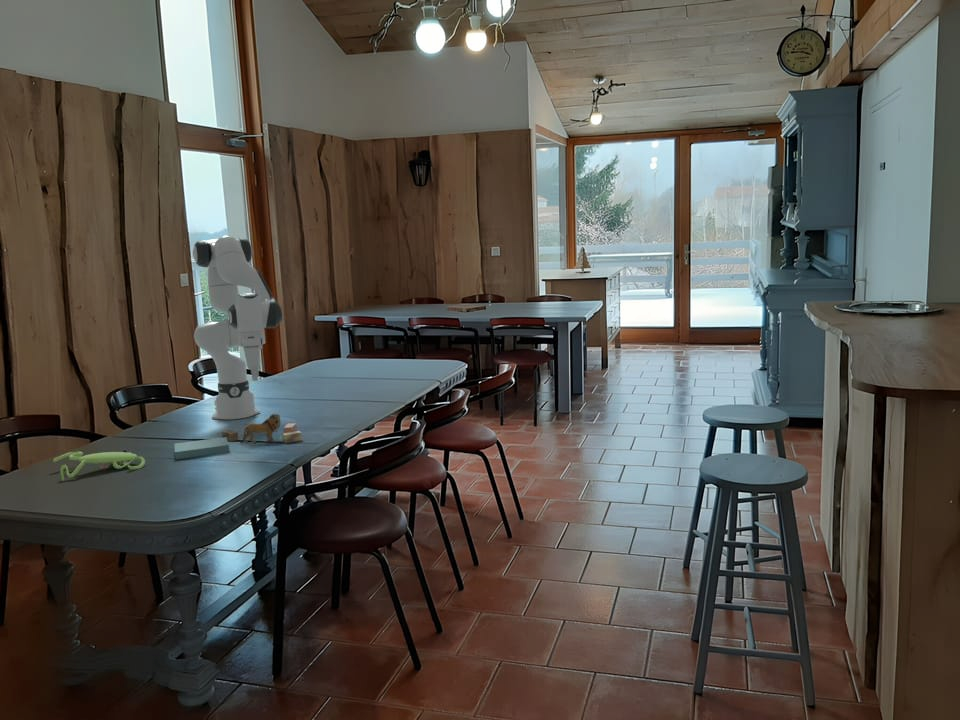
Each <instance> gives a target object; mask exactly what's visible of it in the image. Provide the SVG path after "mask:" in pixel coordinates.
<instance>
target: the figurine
mask: <svg viewBox="0 0 960 720" xmlns="http://www.w3.org/2000/svg"><path fill="white" fill-rule="evenodd" d="M132 452H133V451H131V450H122V451H108V452H97V453H90V454H85V455H84V453H83V452H82V451H69V452H66V453H64V454H62V455H59V456H57V457H54V458H53V463H57V462H58V461H60V460H62V459H66V458H67V457H68V459H69V461H70V460H71V461H79V462H80V463H79V465H77V467H76V468H75V469H74V471H73V472H72V473H69V468H68V466H67V465H66V464H63V465H61V466H60V476H61V481H62V482H63V481H65V477H64V470H65V472H66V474H65V475H66V476H67V477H68V478H74V477H75V476H76V475H78V473H79V472H80V470H81V469H82V468H83V467H84V466H85V465H86V464H100V465H101V464H102V465H101V466H100V467H99V469H102V468H104V467H106V466H107V465H109V464H112V466H113V468H114V469H117V470H119V469H123V468H124V467H127V468H128V469H130V470H132V471H135V470H140V469H142V468H143V467H144V466H145V465H146V460H145V457H143V456H138V455H137V454H135V453H132ZM135 460H139V461H140V464H139V465H137V466H136V465H135V466H134V465H133V466H132V465H131V464H130V463H131V462H133V461H135ZM128 461H129V462H128ZM121 464H122V465H121Z"/></svg>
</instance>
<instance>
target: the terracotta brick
mask: <svg viewBox="0 0 960 720" xmlns="http://www.w3.org/2000/svg"><path fill="white" fill-rule="evenodd" d="M295 431H298V430H297V423H296V422H295V423H287V424H286V425H284V427H283V433H289V432H295Z"/></svg>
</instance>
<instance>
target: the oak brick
mask: <svg viewBox="0 0 960 720" xmlns="http://www.w3.org/2000/svg"><path fill="white" fill-rule="evenodd" d="M281 436H282V442H283V443H284V444H287V443H293V442H300V441H303V434H302V432H301V431H300V430H297V431H295V432H289V433H284V432H283V433H282V434H281Z"/></svg>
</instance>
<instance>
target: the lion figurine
mask: <svg viewBox="0 0 960 720" xmlns="http://www.w3.org/2000/svg"><path fill="white" fill-rule="evenodd" d="M281 422H282V421H281V418H280V414H277V413H272V414H270V415H269V417H268V418H267V419H266V420H264V421H263V422H262V423H248V424H247V425H246V426H245V427H244V430H243V434H242V435H243V436H242V440H241V441H240V442H239V444H242V443H248V442H249V440H250V441H251V443H252V444H256V443H257V441H256V440H254V435H255V434H260V435H261V434H262V435H263V434H266V439H267V440H269V441H270V442H273V441H275V439H274V438H273V432H277V430H278V428H279V427H280V425H281ZM248 437H249V440H248V439H247V438H248Z"/></svg>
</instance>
